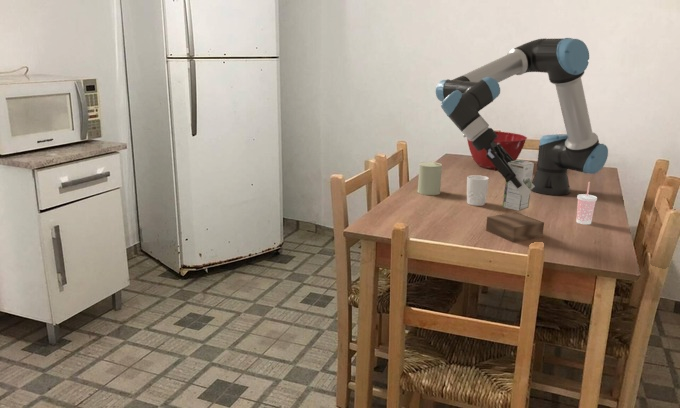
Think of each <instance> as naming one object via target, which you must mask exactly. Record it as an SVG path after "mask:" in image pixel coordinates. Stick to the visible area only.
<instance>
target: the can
mask: <svg viewBox="0 0 680 408" xmlns="http://www.w3.org/2000/svg"><path fill="white" fill-rule="evenodd" d="M442 171H443V164H442V163H439V162H435V161H434V162H433V161H423V162H419V163H418V182H417V193H418V194H420V195H423V196H424V195H425V196H437V195H440V194H441V185H442V184H441V183H442V173H443V172H442Z"/></svg>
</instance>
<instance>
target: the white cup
mask: <svg viewBox="0 0 680 408" xmlns="http://www.w3.org/2000/svg"><path fill="white" fill-rule="evenodd" d="M489 181H490V178H489V176H485V175H480V174H479V175H477V174H474V175H467V177H466V204H468V205H470V206H474V207H475V206H477V207H480V206H481V207H482V206H485V205H486V201H487V196H488V190H489V189H488V188H489Z"/></svg>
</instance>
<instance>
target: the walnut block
mask: <svg viewBox="0 0 680 408" xmlns="http://www.w3.org/2000/svg"><path fill="white" fill-rule="evenodd" d="M544 225H545V222H544V221H542V220H538V219H535V218H533V217H530V216H528V215H525V214H522V213H519V212H509V213H503V214H496V215H495V214H494V215H489V216H487V217H486V227H485V231H486V232H488V233H490V234H493V235H494V236H497V237H500V238H502V239H504V240H505V241H506V240H507V241H509V242H511V243H517V242H522V241H527V240H533V239H538V238H543V235H544V227H545V226H544Z"/></svg>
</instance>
